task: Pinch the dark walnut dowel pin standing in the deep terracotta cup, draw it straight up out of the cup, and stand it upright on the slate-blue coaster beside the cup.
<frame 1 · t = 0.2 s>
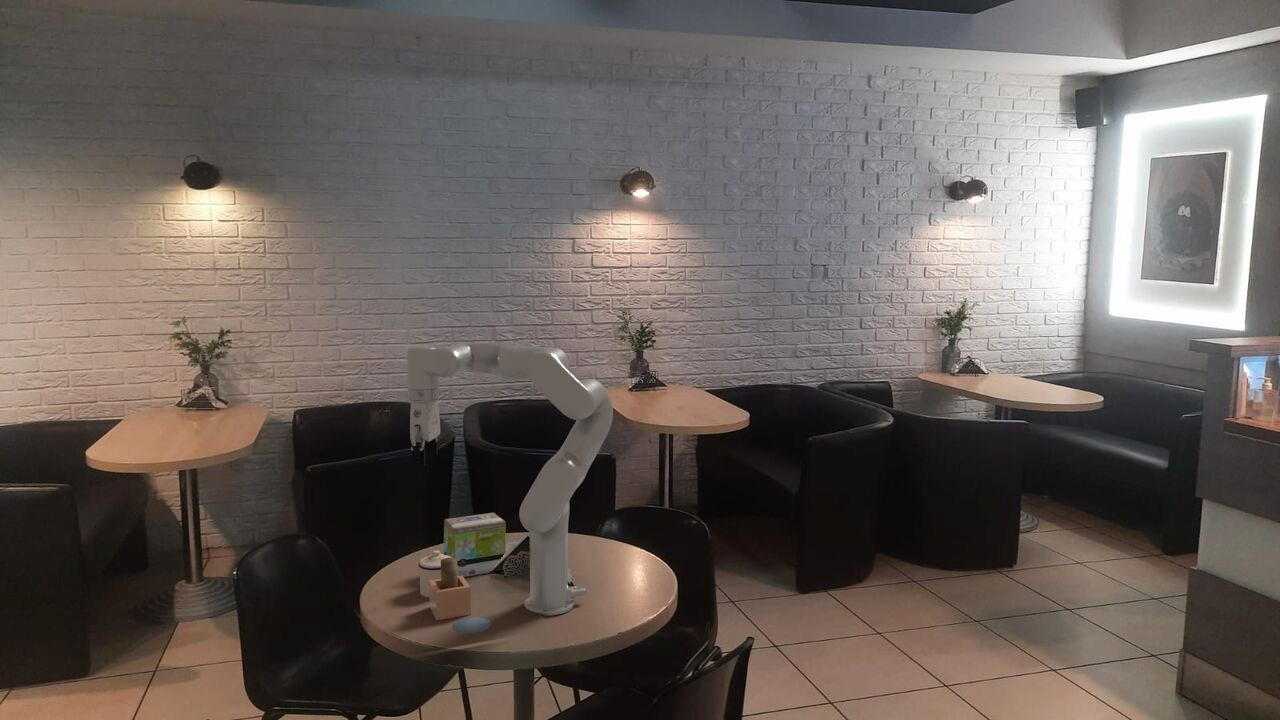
hand: (425, 461, 223), 36 cm above the table, tool pointing down, fingers open, 9 cm apart
slate coaster: (472, 628, 209), on the table
walnut pin: (450, 610, 217), point 1 cm above the table, touching terracotta cup
teacup with lid: (437, 592, 232), on the table
tea box: (475, 570, 248), on the table
terracotta cup: (450, 613, 218), on the table
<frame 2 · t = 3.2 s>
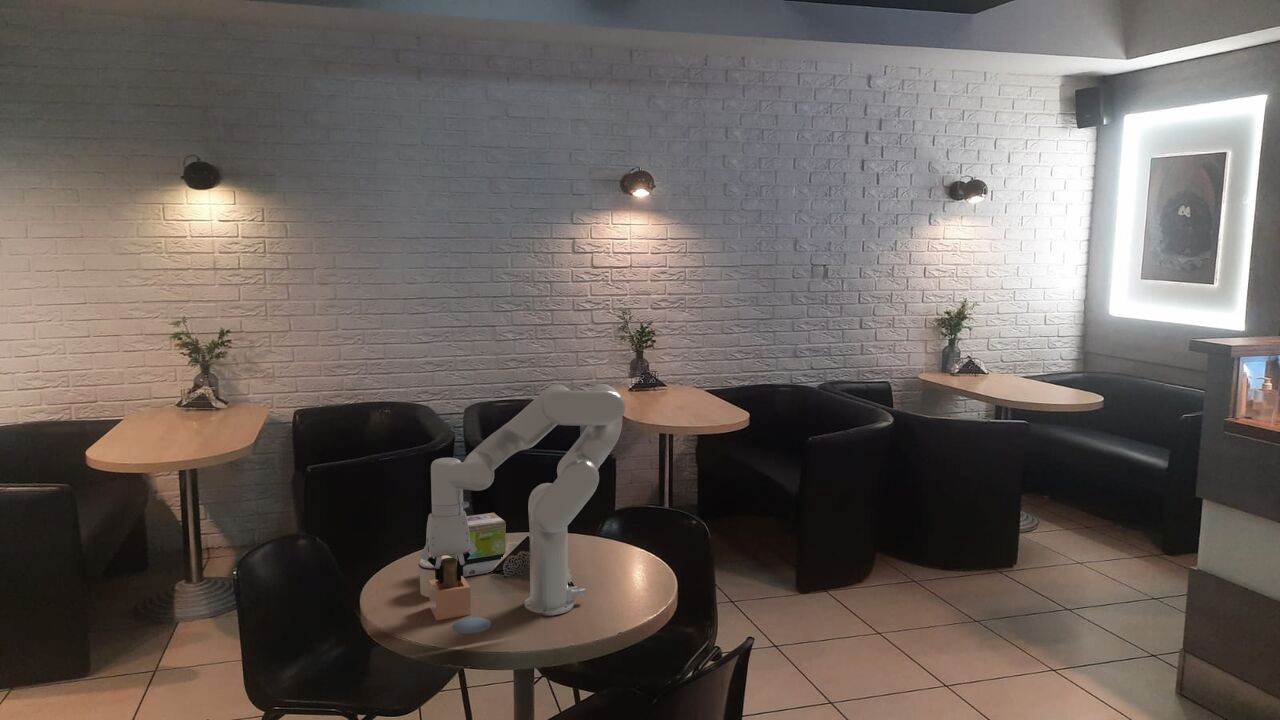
hand: (449, 579, 216), 9 cm above the table, tool pointing down, fingers closed on walnut pin, 4 cm apart
walnut pin: (450, 610, 217), point 1 cm above the table, touching gripper, terracotta cup
everything else where it was.
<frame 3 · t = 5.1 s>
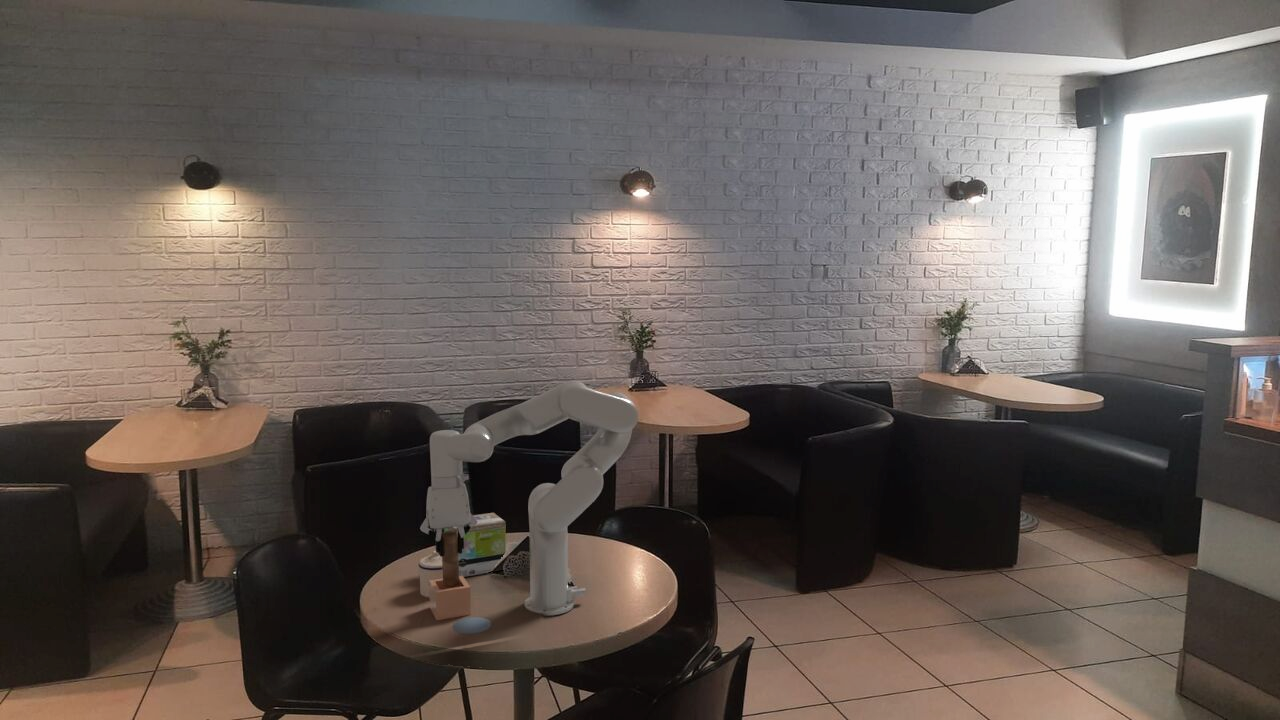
hand: (450, 552, 216), 16 cm above the table, tool pointing down, fingers closed on walnut pin, 4 cm apart
walnut pin: (451, 584, 217), point 8 cm above the table, touching gripper
everything else where it was.
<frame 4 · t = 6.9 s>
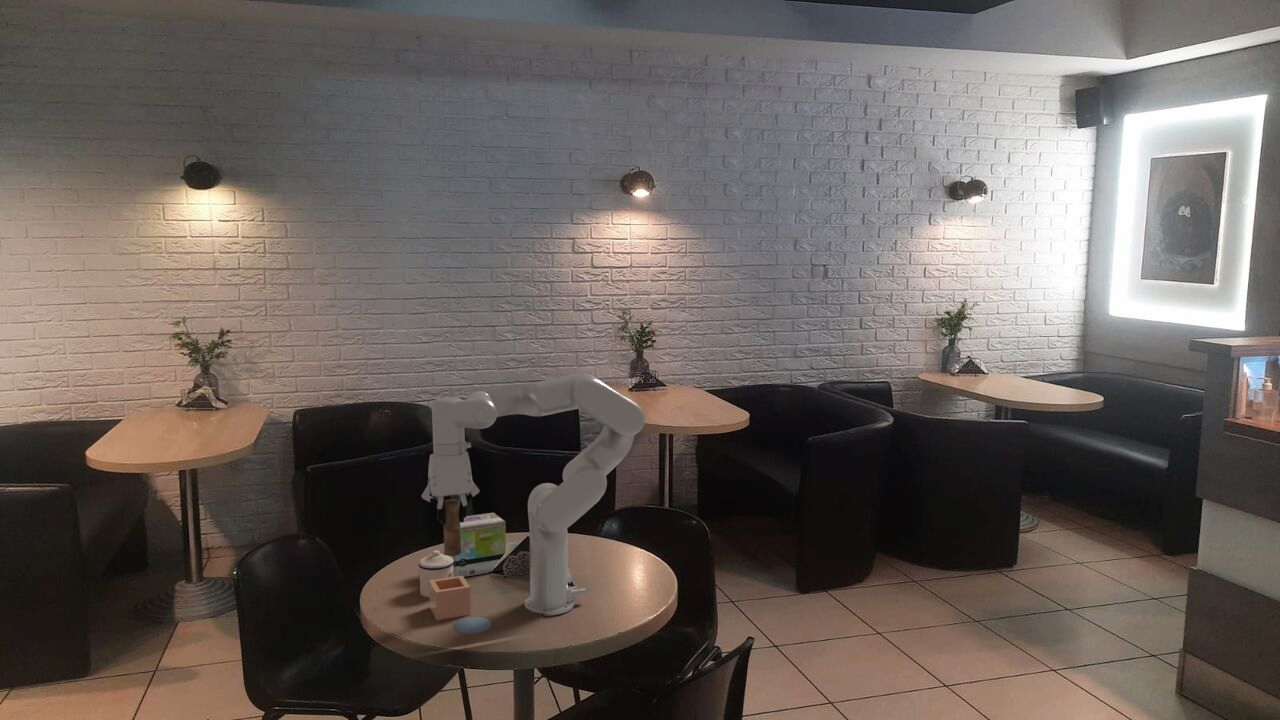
hand: (451, 521, 213), 24 cm above the table, tool pointing down, fingers closed on walnut pin, 4 cm apart
walnut pin: (452, 553, 214), point 16 cm above the table, touching gripper
everything else where it was.
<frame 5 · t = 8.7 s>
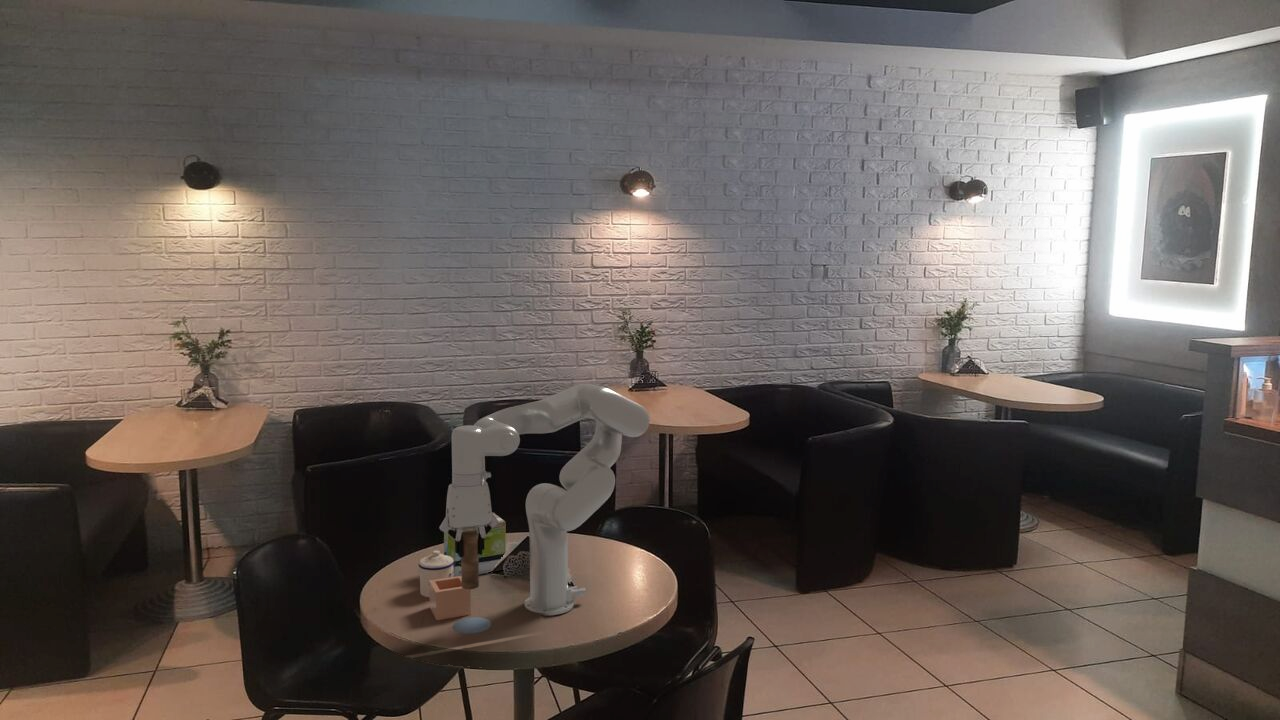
hand: (469, 553, 207), 19 cm above the table, tool pointing down, fingers closed on walnut pin, 4 cm apart
walnut pin: (470, 586, 208), point 11 cm above the table, touching gripper
everything else where it was.
when the fingers open (10 cm above the table, at t = 10.5 s): walnut pin stays where it is, resting on slate coaster.
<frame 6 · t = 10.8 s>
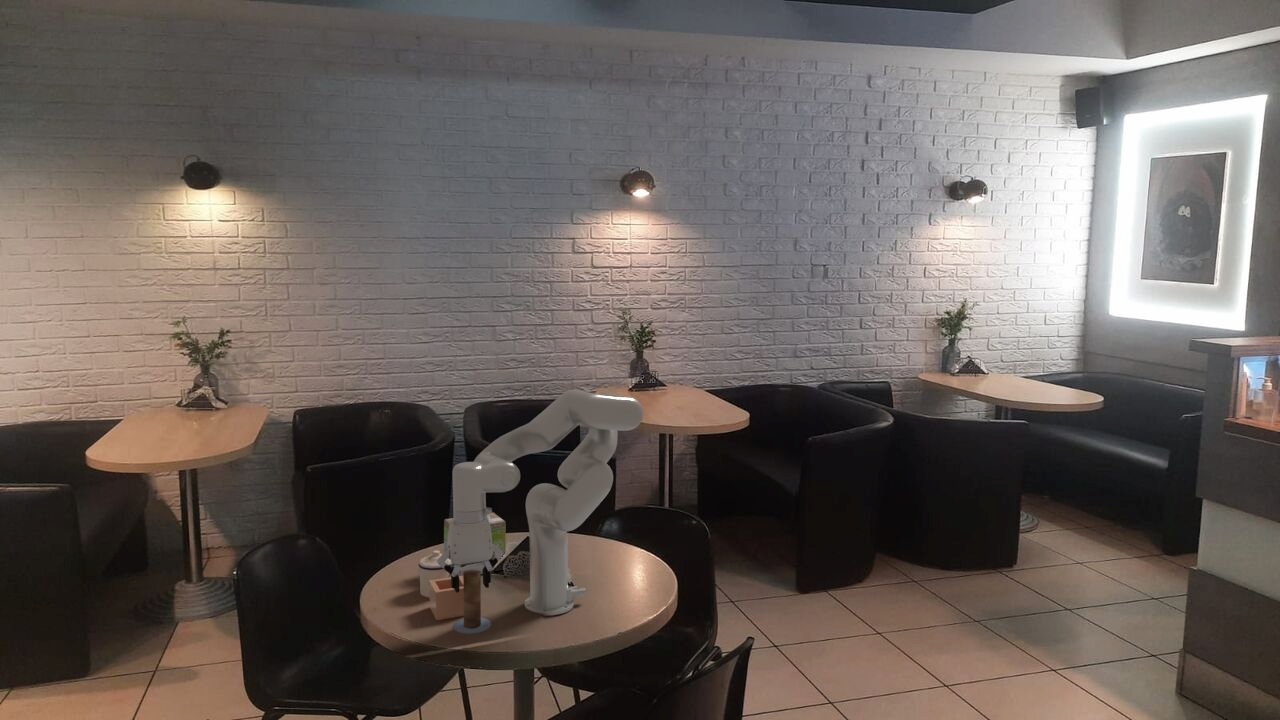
hand: (471, 587, 208), 10 cm above the table, tool pointing down, fingers open, 6 cm apart
walnut pin: (472, 625, 209), point 1 cm above the table, touching slate coaster
everything else where it was.
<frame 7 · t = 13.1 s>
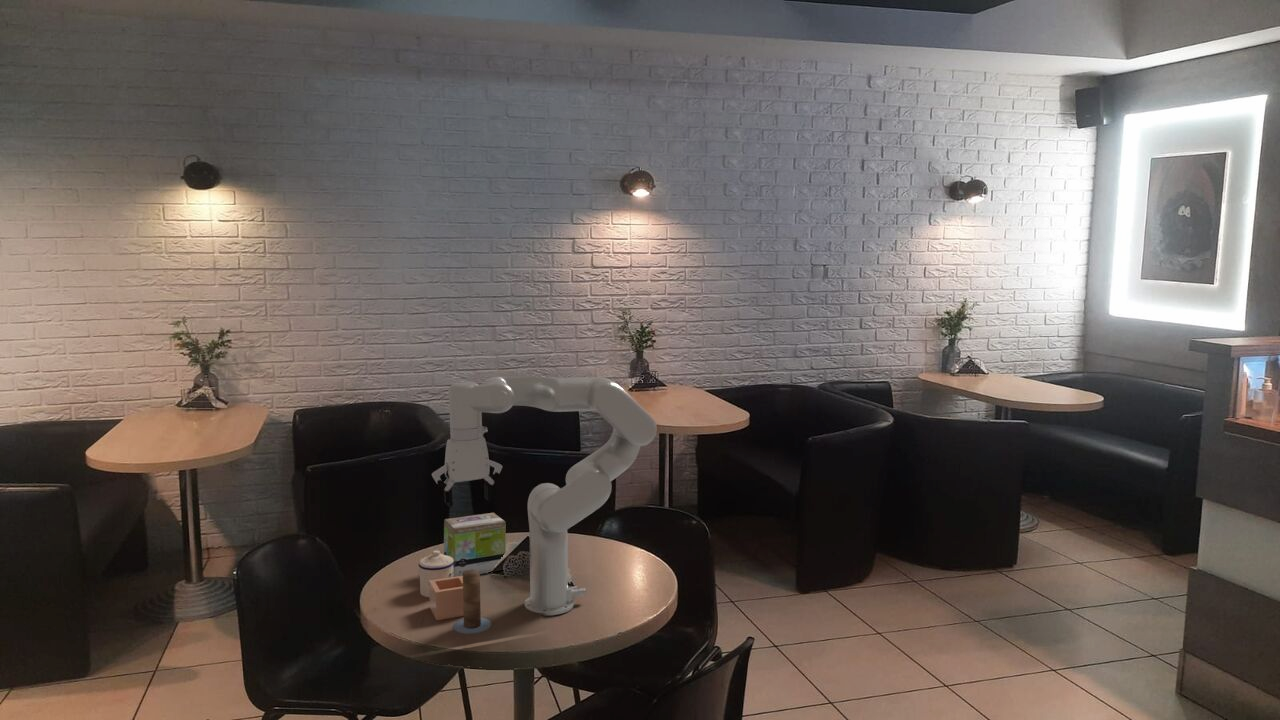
hand: (468, 502, 213), 29 cm above the table, tool pointing down, fingers open, 9 cm apart
nothing on the table moved.
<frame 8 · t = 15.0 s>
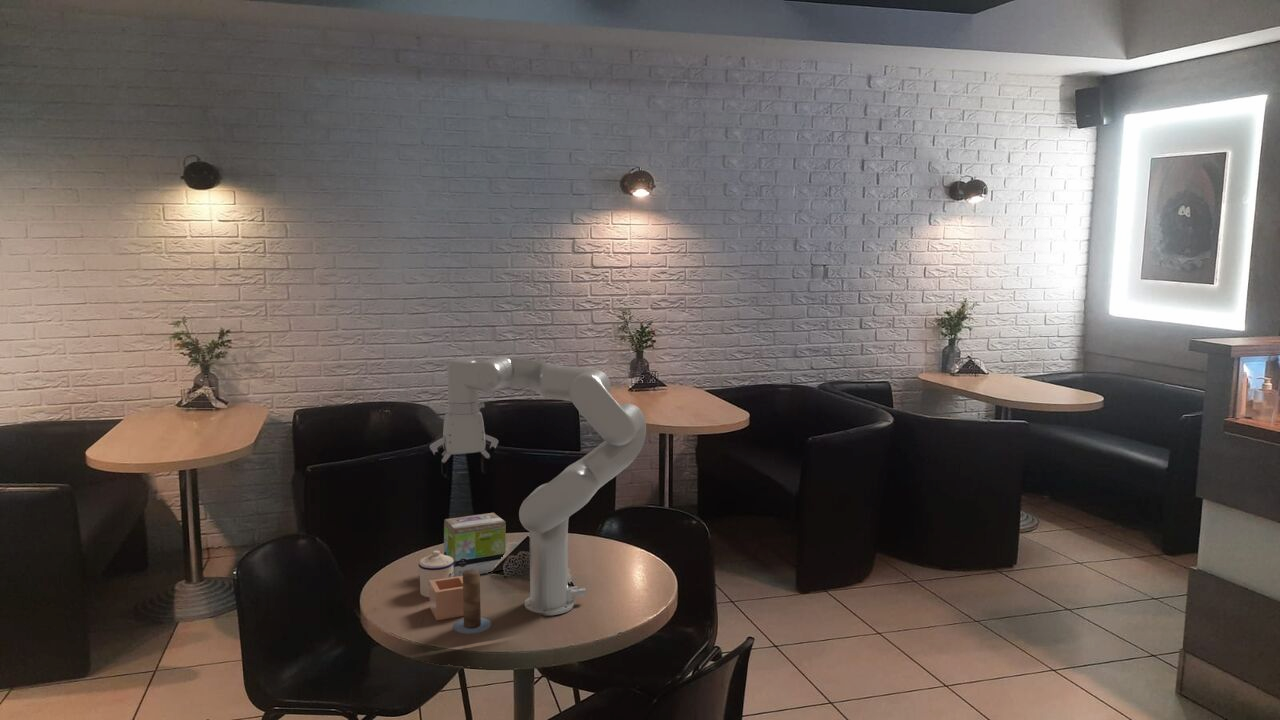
hand: (465, 474, 222), 33 cm above the table, tool pointing down, fingers open, 9 cm apart
nothing on the table moved.
at the end: walnut pin 0.0 cm off-centre on the slate coaster, point 0.8 cm above the slate coaster's base; walnut pin tilted 0°; the gripper is holding nothing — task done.
